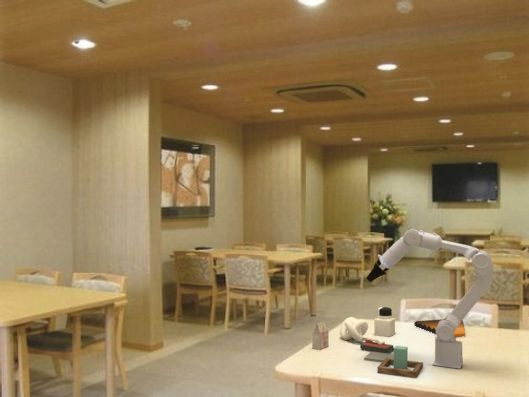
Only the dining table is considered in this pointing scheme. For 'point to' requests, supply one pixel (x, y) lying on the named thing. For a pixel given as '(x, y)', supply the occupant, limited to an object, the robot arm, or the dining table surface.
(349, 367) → the dining table surface
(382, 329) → the medicine bottle
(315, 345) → the tea box
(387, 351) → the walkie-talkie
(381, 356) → the ceramic tile
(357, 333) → the cream rounded sculpture
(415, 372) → the brown square frame
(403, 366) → the green block
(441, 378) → the dining table surface
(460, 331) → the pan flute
